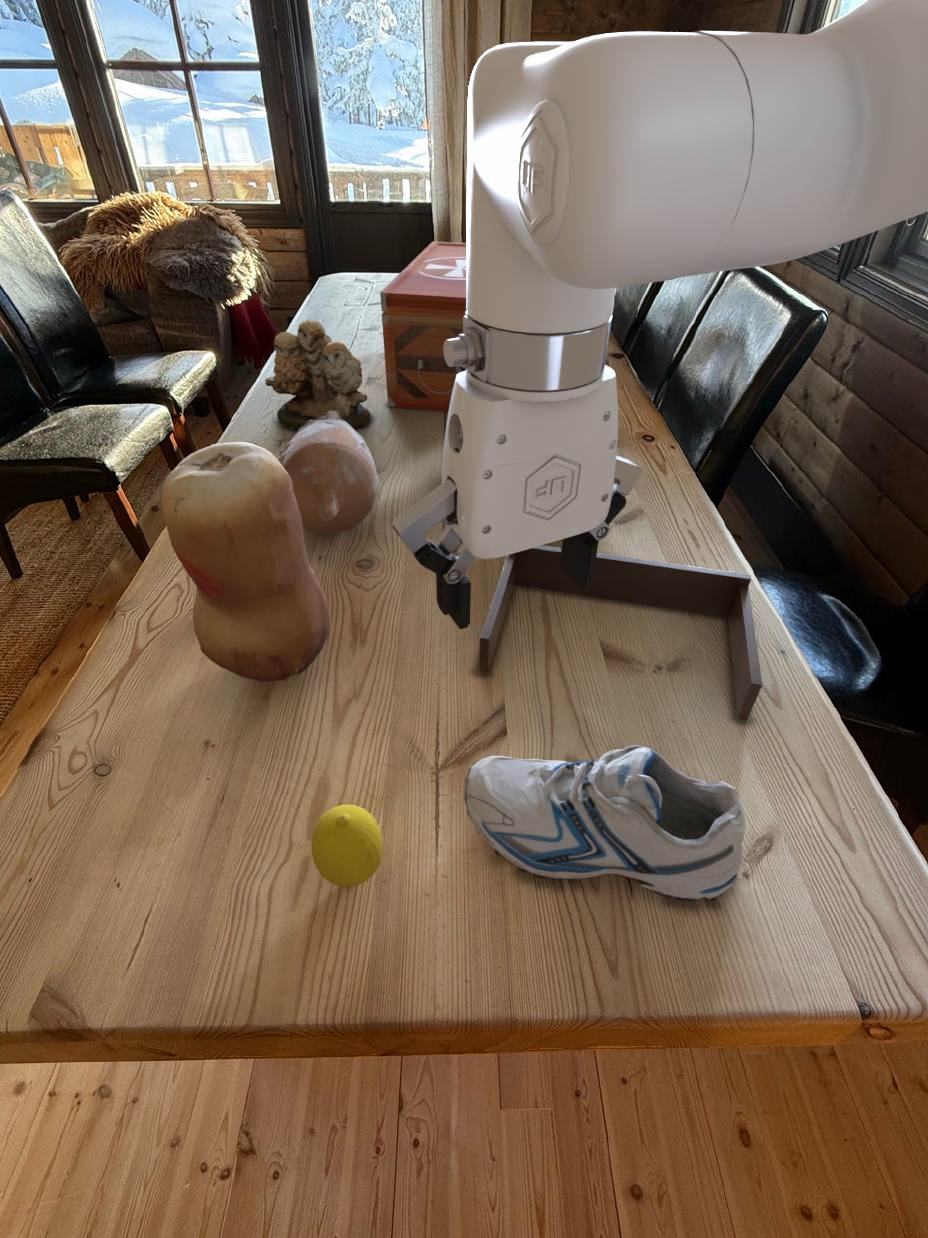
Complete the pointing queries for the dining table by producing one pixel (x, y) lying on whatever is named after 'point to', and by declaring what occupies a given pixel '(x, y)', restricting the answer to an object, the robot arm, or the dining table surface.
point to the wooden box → (424, 327)
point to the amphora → (331, 474)
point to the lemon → (347, 845)
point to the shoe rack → (640, 601)
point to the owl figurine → (316, 378)
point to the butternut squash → (246, 561)
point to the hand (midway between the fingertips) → (517, 596)
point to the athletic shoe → (610, 820)
